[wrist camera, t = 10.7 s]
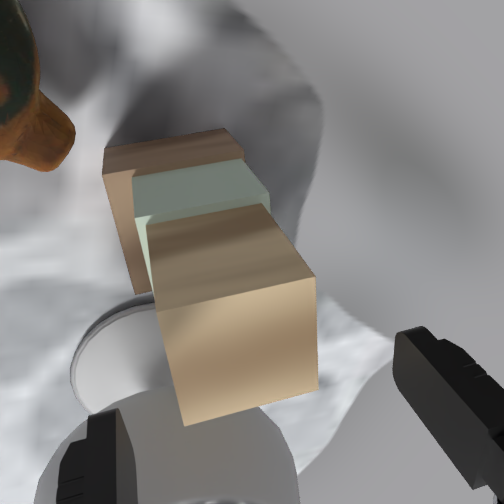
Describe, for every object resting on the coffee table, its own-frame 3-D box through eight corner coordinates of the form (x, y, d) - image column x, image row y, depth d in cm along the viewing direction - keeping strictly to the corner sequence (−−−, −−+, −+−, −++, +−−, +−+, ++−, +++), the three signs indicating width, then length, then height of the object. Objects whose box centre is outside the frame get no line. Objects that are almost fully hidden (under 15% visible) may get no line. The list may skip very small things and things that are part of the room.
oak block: (145, 225, 18) (156, 312, 13) (261, 203, 19) (315, 276, 14) (167, 320, 20) (184, 426, 15) (269, 297, 21) (318, 389, 16)
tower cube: (131, 177, 22) (134, 218, 18) (241, 158, 23) (269, 192, 18) (154, 272, 25) (161, 328, 20) (251, 252, 25) (278, 300, 21)
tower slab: (104, 147, 26) (101, 174, 21) (224, 127, 27) (243, 150, 23) (132, 252, 29) (135, 294, 25) (237, 231, 30) (256, 267, 26)
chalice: (167, 249, 29) (204, 434, 17) (280, 360, 37) (367, 548, 24) (10, 374, 31) (-66, 634, 18) (150, 457, 38) (166, 684, 25)
